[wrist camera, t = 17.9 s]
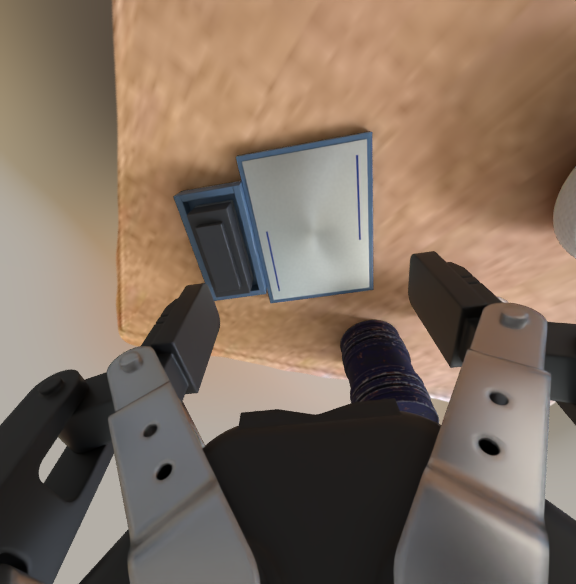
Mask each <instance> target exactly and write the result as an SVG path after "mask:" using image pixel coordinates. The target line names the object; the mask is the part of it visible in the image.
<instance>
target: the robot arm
mask: <svg viewBox="0 0 576 584" xmlns="http://www.w3.org/2000/svg"><path fill="white" fill-rule="evenodd" d="M408 295H409V300H410V303H411V305H412V307H413V309H414V310H415V312H416V313H417V315H418V317H419V318H420V320H421V321H422V323H423V324H424V326H425V328H426V329H427V331H428V332H429V334H430V336H431V337H432V339H433V340H434V342H435V344H436V345H437V347H438V348H439V350H440V352H441V353H442V355H443V356H444V358H445V360H446V361H447V363H448V364H449V366H450V368H453V367H461V370H460V373H459V376H458V379H457V381H456V384H455V387H454V390H453V393H452V396H451V399H450V402H449V405H448V407H447V410H446V413H445V416H444V419H443V422H442V425H440V424H438V423H436V422H434V421H432V420H430V419H428V418H425V417H423V416H420V415H417V414H413V413H409V412H404V411H400V410H399V407H398V405H397V402H396V399H395V398H391V399H381V400H370V401H360V402H354V403H351V404H348V405H345V406H342V407H339V408H336V409H333V410H331V411H328V412H325V413H322V414H317V415H312V414H306V413H299V412H292V411H285V410H279V409H275V410H265V411H254V412H245V413H241V416H240V422H239V426H236V427H234V428H232V429H229V430H227V431H225V432H224V433H222V434H220V435H219V436H217V437H216V438H214V439H213V440H212V441H210V442H209V443H208V444H207V445H206V446H205V444H204V442H203V440H202V438H201V436H200V434H199V432H198V430H197V428H196V426H195V424H194V422H193V420H192V419H191V417H190V415H189V413H188V411H187V409H186V407H185V405H184V403H183V401H182V400H183V398H184V395H185V394H192V393H198V391H199V388H200V385H201V382H202V379H203V376H204V373H205V370H206V367H207V364H208V361H209V358H210V355H211V352H212V349H213V346H214V343H215V340H216V337H217V334H218V331H219V328H220V318H219V314H218V311H217V308H216V305H215V302H214V300H213V297H212V294H211V291H210V289H209V287H208V285H207V284H206V283H201V284H194V285H188V286H186V287H185V289H184V290H183V292H182V293H181V295H180V297H179V298H178V299H175V300H174V301H173V302H172V303H170V304H169V305H168V306H167V307H166V308H165V310H164V311H163V313H162V314H161V317H159V319H158V320H157V322H156V324H155V325H154V327H153V328H152V330H151V331H150V333H149V334H148V336H147V337H146V339H145V340H144V342H143V344H142V345H141V346H140V347H136V348H133V349H130V350H128V351H126V352H124V353H123V354H121V355H119V356H118V357H117V358H116V359H115V360H114V361H113V362H112V363H111V364H110V365H109V367H108V369H107V372H106V373H103V374H100V375H97V376H94V377H91V378H88V379H86V380H84V379H83V378H82V376H81V375H80V374H79V372H78V371H76V370H65V371H61V372H58V373H56V374H54V375H52V376H50V377H48V378H46V379H45V380H43V381H42V382H40V383H39V384H38V385H36V386H35V387H34V388H33V389H32V390H31V391H30V392H29V393H28V394H27V396H26V397H25V398H24V399H23V400H22V401H21V402H20V403H19V405H18V406H17V407H16V408H15V409H14V410H13V412H12V413H11V414H10V415H9V416H8V417H7V418H6V419H5V421H4V422H3V423H2V424H1V425H0V584H53V582H54V580H55V578H56V576H57V574H58V571H59V569H60V567H61V565H62V563H63V561H64V558H65V556H66V554H67V552H68V550H69V548H70V546H71V544H72V541H73V539H74V537H75V535H76V533H77V531H78V529H79V527H80V525H81V522H82V520H83V518H84V516H85V514H86V512H87V510H88V507H89V505H90V503H91V501H92V499H93V497H94V495H95V493H96V490H97V488H98V486H99V484H100V482H101V480H102V478H103V476H104V473H105V471H106V469H107V467H108V465H109V463H110V460H111V458H112V456H113V454H115V459H116V465H117V470H118V475H119V481H120V486H121V491H122V496H123V502H124V508H125V513H126V518H127V523H128V528H129V529H128V530H127V531H126V532H125V534H124V535H123V536H122V537H121V538H120V539H119V540H118V541H117V543H115V545H114V546H113V547H112V548H111V549H110V550H109V551H108V552H107V553H106V554H105V556H104V557H103V558H102V559H101V560H100V561H99V562H98V563H97V564H96V565H95V566H94V568H93V569H92V570H91V571H90V572H89V573H88V574H87V575H86V576H85V577H84V578H83V580H82V581H81V582H80V583H79V584H576V520H574V519H573V518H571V517H570V516H568V515H567V514H566V513H564V512H563V511H562V510H560V509H559V508H557V507H556V506H555V505H553V504H552V503H550V502H549V501H548V500H546V499H545V487H546V465H547V447H548V429H549V410H550V400H553V401H556V402H557V403H558V405H559V406H560V407H561V408H562V409H563V411H564V412H565V413H566V414H567V415H568V417H569V418H570V419H571V420H572V421H573V422H574V424H575V425H576V324H567V323H554V322H547V321H546V319H545V318H544V316H543V315H541V314H540V313H539V312H537V311H535V310H534V309H532V308H529V307H526V306H523V305H519V304H515V303H503V302H502V301H501V300H500V299H499V298H497V297H496V296H495V295H494V294H493V293H492V292H491V291H490V290H488V289H487V288H486V287H485V286H484V285H483V284H482V283H480V282H479V281H478V280H477V279H476V278H475V277H473V276H472V274H471V273H469V272H468V271H467V270H466V269H465V268H464V267H461V266H459V265H457V264H454V263H452V262H447V263H446V262H445V261H444V260H443V259H442V258H441V257H440V256H439V255H438V254H437V253H436V252H434V251H431V252H424V253H417V254H412V256H411V259H410V271H409V286H408ZM57 437H59V438H60V439H61V440H62V441H63V442H64V443H65V444H66V445H67V447H66V449H65V450H64V452H63V453H62V455H61V457H60V458H59V460H58V461H57V463H56V464H55V466H54V468H53V469H52V471H51V473H50V474H49V476H48V477H47V479H46V481H45V482H44V484H43V483H42V482H41V481H40V479H39V467H40V464H41V462H42V460H43V458H44V457H45V455H46V454H47V452H48V451H49V449H50V448H51V446H52V445H53V443H54V442H55V440H56V439H57Z"/></svg>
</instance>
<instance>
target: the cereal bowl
mask: <svg viewBox="0 0 576 584" xmlns="http://www.w3.org/2000/svg"><path fill="white" fill-rule="evenodd" d="M553 212H554V213H553V227H554V232H555V234H556V238H557V239H558V241H559V243H560V244H561V245H562V247H563V248H564V249H565V250H566V251H567V252H568V253H569V254H570V255H571V256H573V257H575V258H576V167H575V168H574V169H573V171H572V172H571V173H570V175H569V176H568V178H567V180H566V181H565V182H564V184H563V186H562V188H561V190H560V193H559V194H558V197H557V200H556V203H555V207H554V211H553Z"/></svg>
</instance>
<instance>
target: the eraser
mask: <svg viewBox="0 0 576 584" xmlns="http://www.w3.org/2000/svg"><path fill="white" fill-rule="evenodd" d="M187 218H188V221H189V223H190V226H191V229H192V232H193V235H194V237H195V240H196V243H197V246H198V249H199V251H200V254H201V257H202V260H203V263H204V265H205V268H206V271H207V274H208V276H209V279H210V282H211V285H212V288H213V290H214V293H215V296H216V298H217V297H224V296H232V295H239V294H246V293H250V291H251V287H252V283H253V279H254V278H253V274H252V270H251V266H250V263H249V259H248V255H247V251H246V248H245V244H244V240H243V236H242V232H241V229H240V225H239V221H238V217H237V214H236V210H235V206H234V202H233V200H226V201H221V202H215V203H209V204H203V205H197V206H196V207H195V208H194V209H193V210H192V211H191V212H190V213H188V214H187Z"/></svg>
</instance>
